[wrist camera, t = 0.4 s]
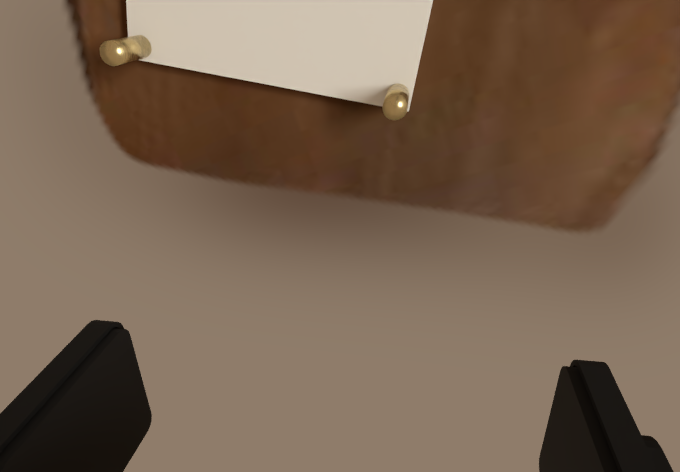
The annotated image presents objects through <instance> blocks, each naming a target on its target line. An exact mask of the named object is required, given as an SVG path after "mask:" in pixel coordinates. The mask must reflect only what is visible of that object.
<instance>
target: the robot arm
mask: <svg viewBox="0 0 680 472" xmlns="http://www.w3.org/2000/svg"><path fill="white" fill-rule="evenodd" d="M150 424H151V410H150V407H149V403H148V399H147V396H146V392H145V389H144V385H143V381H142V377H141V374H140V370H139V366H138V362H137V359H136V355H135V351H134V348H133V344H132V340H131V337H130V334H129V331H128V330H126V329H124V328H123V326H122V324H121V323H119V322H111V321H100V320H94V321H91V322H90V323H89V324H87V325H86V326H85V328H84V329H82V331H81V332H80V333H79V334H78V335H77V336H76V337H75V338H74V339H73V340H72V341H71V342H70V343H69V344H68V345H67V346H66V347H65V348H64V349H63V350H62V351H61V352H60V353H59V354H58V355H57V356H56V357H55V358H54V359H53V360H52V361H51V362H50V363H49V364H48V365H47V366H46V368H44V370H43V371H42V372H41V373H40V374H39V375H38V376H37V377H36V378H35V379H34V380H33V381H32V382H31V383H30V384H29V385H28V386H27V387H26V388H25V389H24V390H23V391H22V392H21V393H20V394H19V395H18V396H17V397H16V398H15V399H14V400H13V401H12V402H11V403H10V404H9V405H8V406H7V407H6V409H4V411H3V412H2V413H1V414H0V472H123V471H124V469H125V467H126V466H127V464H128V462H129V461H130V459H131V458H132V456H133V454H134V453H135V451H136V449H137V448H138V446H139V444H140V443H141V441H142V440H143V438H144V436H145V435H146V433H147V431H148V429H149V427H150ZM539 470H540V472H673V470H672V468H671V466H670V464H669V462H668V460H667V458H666V456H665V454H664V452H663V450H662V448H661V447H660V445H659V444H658V442H657V441H656V440H655V439H654V438H653V437H651V436H642V435H641V434H640V432H639V430H638V428H637V426H636V424H635V421H634V419H633V417H632V415H631V413H630V411H629V409H628V407H627V405H626V402H625V401H624V398H623V396H622V394H621V392H620V390H619V388H618V386H617V384H616V381H615V379H614V377H613V375H612V373H611V371H610V369H609V367H608V365H607V364H606V363H604V362H595V361H584V360H573V361H572V363H571V365H570V367H567V366H563V367H562V369H561V371H560V375H559V379H558V383H557V387H556V391H555V396H554V400H553V404H552V408H551V413H550V416H549V420H548V424H547V429H546V433H545V437H544V441H543V445H542V449H541V453H540V458H539Z"/></svg>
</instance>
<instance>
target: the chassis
mask: <svg viewBox="0 0 680 472" xmlns="http://www.w3.org/2000/svg"><path fill="white" fill-rule="evenodd" d="M432 3H433V0H126V8H127V28H128V37H125V38H120V39H115V40H109V41H105V42H103V43H102V44H101V46H100V56H101V58H102V60H103V61H104V62H105V63H106V64H108V65H110V66H118V65H122V64H125V63H129V62H132V61H136V60H141V61H146V62H151V63H156V64H162V65H167V66H172V67H177V68H183V69H188V70H193V71H198V72H204V73H209V74H214V75H219V76H225V77H230V78H235V79H241V80H246V81H251V82H256V83H262V84H267V85H272V86H277V87H283V88H288V89H293V90H298V91H304V92H309V93H314V94H319V95H325V96H330V97H335V98H340V99H346V100H351V101H356V102H361V103H367V104H372V105H377V106H382V109H383V113H384V115H385V116H386V117H387V118H389V119H391V120H399V119H401V118H403V117H404V116H405V114H406V112H407V111H409V108H410V103H411V99H412V94H413V89H414V85H415V80H416V76H417V71H418V67H419V62H420V57H421V53H422V48H423V44H424V39H425V35H426V30H427V26H428V21H429V16H430V12H431V7H432Z"/></svg>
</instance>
